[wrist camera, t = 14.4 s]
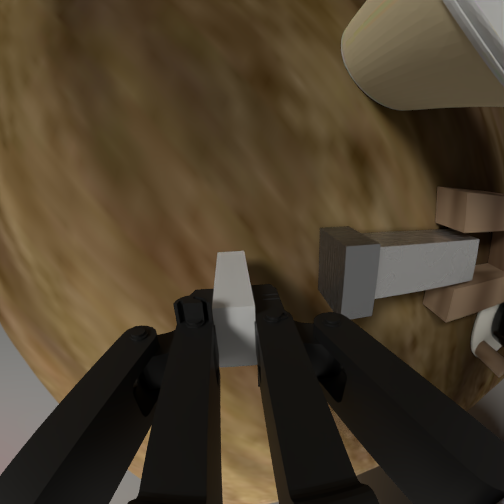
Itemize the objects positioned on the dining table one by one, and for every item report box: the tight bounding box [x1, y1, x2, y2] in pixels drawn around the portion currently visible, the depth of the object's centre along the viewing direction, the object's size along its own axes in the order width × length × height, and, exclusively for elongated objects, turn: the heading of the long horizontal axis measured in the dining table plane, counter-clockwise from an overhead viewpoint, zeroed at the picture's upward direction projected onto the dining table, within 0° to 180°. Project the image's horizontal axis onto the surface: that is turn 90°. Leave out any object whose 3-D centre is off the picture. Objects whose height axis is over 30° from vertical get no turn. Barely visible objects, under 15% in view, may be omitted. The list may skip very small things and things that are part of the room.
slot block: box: [423, 186, 504, 323], centre depth 17 cm, size 10×10×3 cm
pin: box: [318, 226, 479, 319], centre depth 16 cm, size 12×4×4 cm, turn 93°
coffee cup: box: [341, 0, 504, 111], centre depth 8 cm, size 9×9×12 cm
